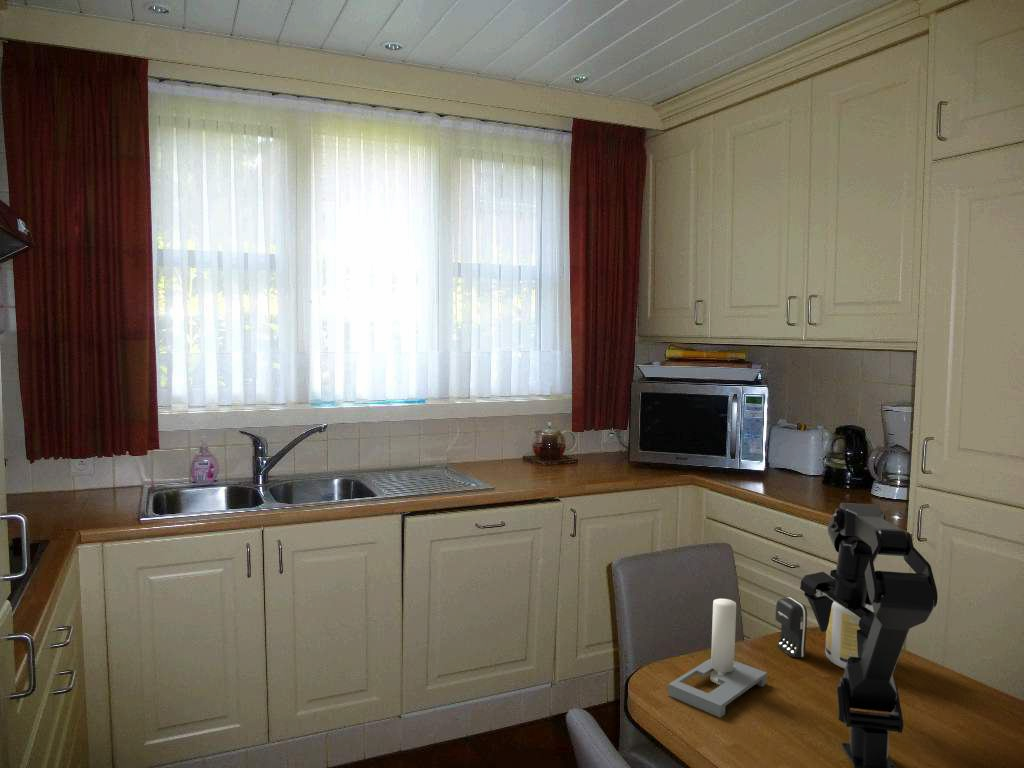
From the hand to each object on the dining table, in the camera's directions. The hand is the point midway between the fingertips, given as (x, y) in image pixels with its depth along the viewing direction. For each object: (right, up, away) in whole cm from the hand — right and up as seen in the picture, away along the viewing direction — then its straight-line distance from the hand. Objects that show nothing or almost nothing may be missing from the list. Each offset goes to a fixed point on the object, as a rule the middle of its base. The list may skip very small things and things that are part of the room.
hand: (842, 644), depth 137 cm
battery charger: (-1, -10, +23) cm, 25 cm away
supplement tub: (+12, -10, +19) cm, 25 cm away
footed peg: (-19, -11, +11) cm, 25 cm away
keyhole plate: (-21, -11, +7) cm, 25 cm away
